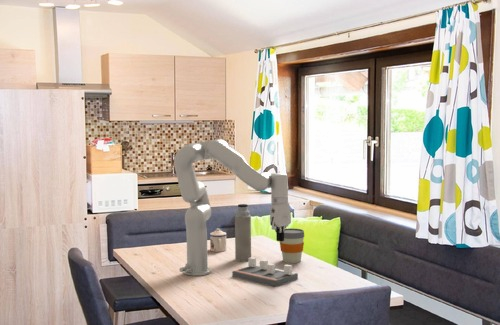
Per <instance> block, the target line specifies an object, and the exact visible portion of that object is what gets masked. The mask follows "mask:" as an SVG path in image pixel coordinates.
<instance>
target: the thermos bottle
mask: <svg viewBox="0 0 500 325" xmlns="http://www.w3.org/2000/svg"><path fill="white" fill-rule="evenodd" d="M248 206H249V205H248V204H246V203H243V204H242V203H240V204H238V205H237V210H236V212H235V216H234V243H235V244H234V245H235V246H234V248H235V251H234V253H235V259H234V260H235V261H237V262H248V258H250V257H252V216H251V214H250V213H251V212H250V210H249V209H248Z"/></svg>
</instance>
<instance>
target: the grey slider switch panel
mask: <svg viewBox="0 0 500 325" xmlns="http://www.w3.org/2000/svg"><path fill="white" fill-rule="evenodd" d="M247 262H248V266H245V267H242V268H239V269H236V270H235V269H234V270H232V272H231V273H232V274H231V277H233V278H236V279H240V280H245V281H249V282H254V283H258V284H260V285H261V284H262V285H267V286H270V287H275V288H277V287H279V286H282V285H284V284H288V283H290V282H293V281H296V280H298V279H299V276H298V275H299V273H298V272H293V265H290V264H284V265H283V269H279V268H275V273H273V274H271V273H267V264H269V263H268V260H267V259H260V260H259V264H257V258H256V257H253V256H251V257H250V258H248V261H247Z"/></svg>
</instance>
